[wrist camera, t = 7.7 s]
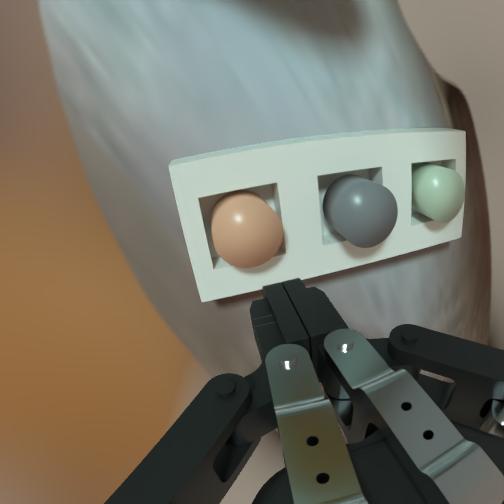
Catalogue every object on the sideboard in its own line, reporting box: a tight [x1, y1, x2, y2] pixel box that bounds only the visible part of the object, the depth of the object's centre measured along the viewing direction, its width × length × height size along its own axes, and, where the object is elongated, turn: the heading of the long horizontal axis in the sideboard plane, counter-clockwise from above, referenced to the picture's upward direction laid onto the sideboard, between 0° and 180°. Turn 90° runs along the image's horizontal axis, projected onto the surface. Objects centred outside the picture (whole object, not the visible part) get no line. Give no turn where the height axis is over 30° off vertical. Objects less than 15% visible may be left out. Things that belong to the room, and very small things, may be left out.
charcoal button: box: [322, 174, 398, 248], centre depth 21 cm, size 4×4×3 cm
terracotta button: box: [210, 190, 283, 268], centre depth 21 cm, size 4×4×3 cm
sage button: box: [411, 162, 465, 223], centre depth 23 cm, size 4×4×3 cm
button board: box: [169, 127, 466, 302], centre depth 24 cm, size 10×24×3 cm, turn 99°
